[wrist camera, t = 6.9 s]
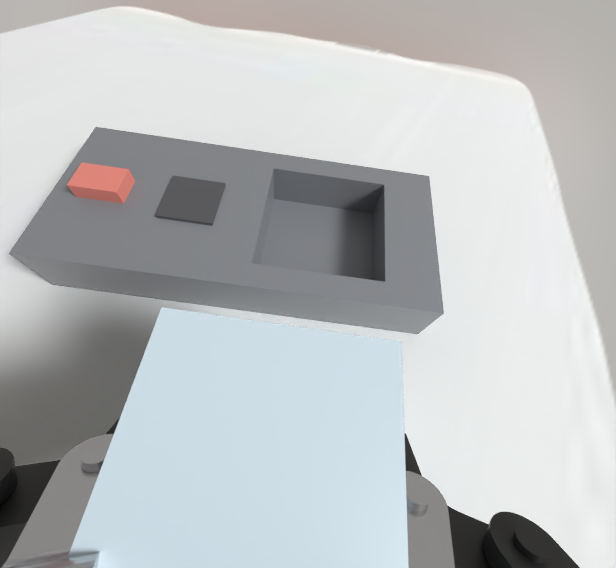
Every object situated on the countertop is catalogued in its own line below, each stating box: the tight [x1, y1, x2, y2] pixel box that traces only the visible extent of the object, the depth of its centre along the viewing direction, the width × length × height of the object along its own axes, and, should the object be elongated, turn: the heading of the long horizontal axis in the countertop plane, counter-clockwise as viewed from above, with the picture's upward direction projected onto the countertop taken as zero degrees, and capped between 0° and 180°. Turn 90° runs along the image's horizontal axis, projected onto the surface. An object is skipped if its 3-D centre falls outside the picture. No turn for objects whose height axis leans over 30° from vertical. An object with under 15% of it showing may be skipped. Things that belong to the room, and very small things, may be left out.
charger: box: [68, 307, 409, 568], centre depth 9 cm, size 4×5×10 cm
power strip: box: [9, 127, 444, 334], centre depth 17 cm, size 20×9×4 cm, turn 84°
